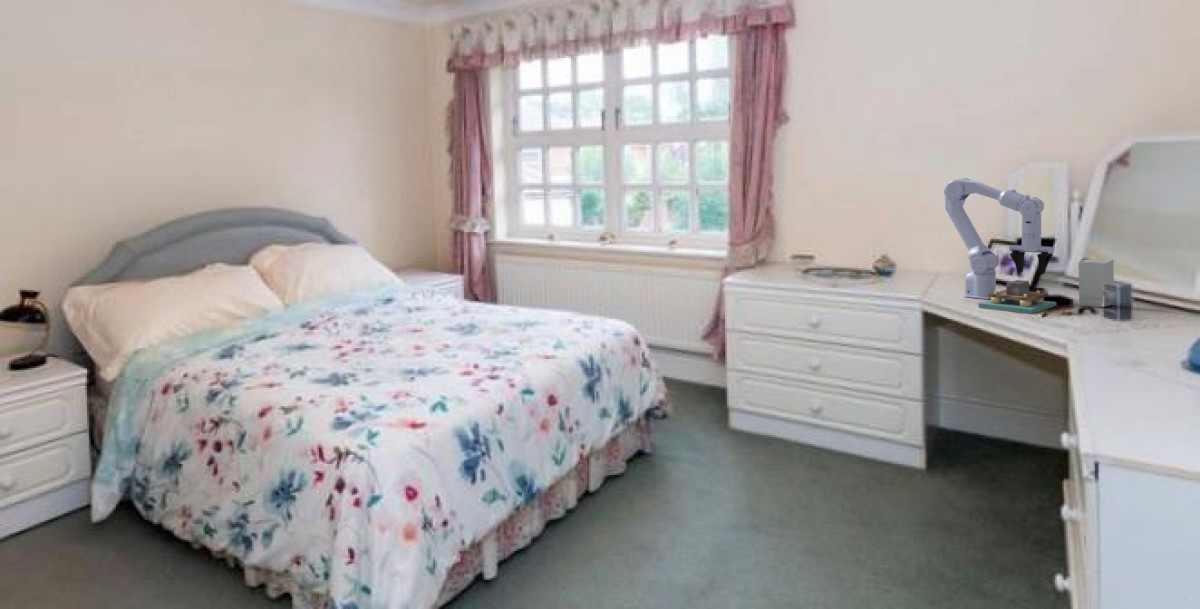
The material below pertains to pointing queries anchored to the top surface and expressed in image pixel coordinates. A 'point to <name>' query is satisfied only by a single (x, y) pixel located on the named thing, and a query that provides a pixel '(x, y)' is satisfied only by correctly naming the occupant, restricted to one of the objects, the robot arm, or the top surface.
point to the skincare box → (1094, 281)
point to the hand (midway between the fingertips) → (1030, 273)
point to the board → (1029, 296)
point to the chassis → (1017, 304)
